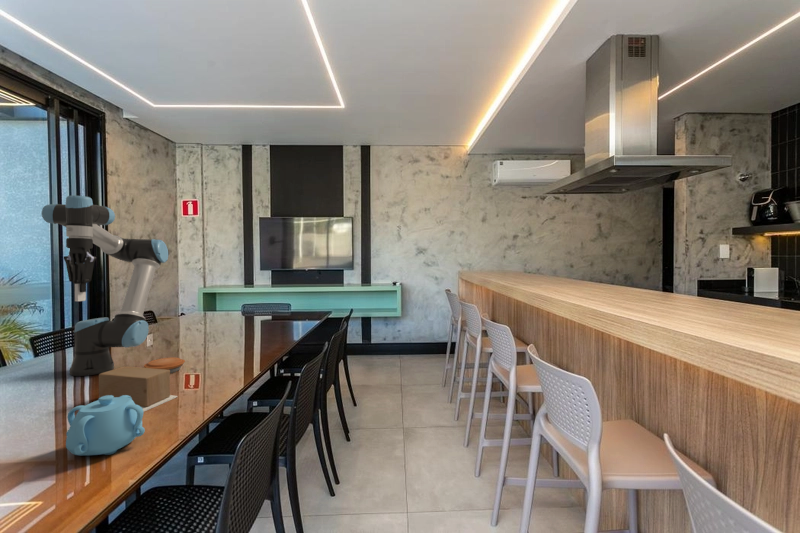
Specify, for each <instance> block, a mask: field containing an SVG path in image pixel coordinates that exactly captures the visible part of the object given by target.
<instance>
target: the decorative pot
mask: <svg viewBox="0 0 800 533" xmlns="http://www.w3.org/2000/svg"><path fill="white" fill-rule="evenodd" d="M76 411H77V413H75V412H76ZM143 417H144V412H143V409H142V407H140V406H139V405H136V404H135V403H134V401H133V400H132V398H131V397H130V396H128V395H123V396H120V397H114V396H112V395H107V396H103V397H100V398H99V397H98V399H97V400H94V401H93V402H92V401H91V402H90V403H88V404H86V405H82V404H81V405H77V406H75V407H73V408H71V409H70V410H68V413H67V421H68V424H69V428H68V430H67V431H66V432H65V433H66V440H65V447H66V449H67V451H68V452H70V453H71V454H72V455H74V456H98V455H99V456H100V455H105V456H108V455H113V454H115V453H117V452H118V450H120V449H121V448H124V447H126V446H127V445H128V444H130V443H131V442H133V441H134V440H135V438H138V437H141V436H143V435H144V433H145V431H146V430H145V427H144V426H143Z"/></svg>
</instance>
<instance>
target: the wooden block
mask: <svg viewBox="0 0 800 533" xmlns="http://www.w3.org/2000/svg"><path fill="white" fill-rule="evenodd" d="M107 395H112V396H114V397H120V396H123V395H128V396H130V397H131V398H132V400H133V401H134V403H135V404H136V405H139V406H142V407H148V406H150V405H152V404H155V403H157V402H159V401H161V400H163V399H166V398H168V397H170V395H171V373H170V370H165V369H153V368H144V367H137V366H127V365H124V366H121V367H117V368H114V369H112V370H110V371H107V372H104V373H100V374H98V399H99V398H100V397H103V396H107Z"/></svg>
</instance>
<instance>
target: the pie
mask: <svg viewBox="0 0 800 533" xmlns="http://www.w3.org/2000/svg"><path fill="white" fill-rule="evenodd" d="M185 362H186V360H185V359H183V358H180V357H176V356H175V357H164V358H163V357H162V358H156V359H152V360H151V361H149V362H148V363H145V364H144V365H143V368H153V369H165V370H170V374H173V372H174V373H176V371H177V372H178V371H180V370H181V368H182V367H183V365H184V363H185Z"/></svg>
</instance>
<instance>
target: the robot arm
mask: <svg viewBox="0 0 800 533" xmlns="http://www.w3.org/2000/svg"><path fill="white" fill-rule="evenodd" d="M41 217H42V219H43V220H44V222H46V223H48V224H53V225H56V224H57V225H58V224H59V225H61V226H63V227H65V230H66V231H65V233H66V234H65V235H66V237H67V238H65V244H66V245H65V247H66V248H67V249H69V252H68V254H67V255H65V256H63V260H64V262H65V266H66V271H67V276H68V281H69V282H72V283H73V289H74V290H73V292H74V302H85V301H87V300H86V299H87V298H86V297H87V296H86V292H87V284H88V283H90V282H92V277H93V272H94V267H95V266H94V265H95V262H96V260H97V257H96V256H93V255H92V254H91V250H90V249H93V247H94V245H95V246H97V247H99V248H100V250H101V251H102V252H103V253H104V254H106V255H108V256H111V257H112V258H115V259H117V260H120V261H123V262H126V263H132V265H133V266H134V267H133V269H132V274H131V276H130V280H129V283H128V286H127V290H126V293H125V296H124V300H123V303H122V305H121V309H120V312H118V313H116V314H115V315H114V317H113V320H110V318H109V317H104V316H103V317H98V318H97V317H96V318H91V319H86V320H81V321H78V322H76V323H75V324H74V331H73V333H74V358H73V360H72V363H71V366H70V368H69V375H70V376H74V377H87V376H95V375H99V374H101V373H104V372H107V371H111V370H114V369H115V361H114V360H113V357H112V355H111V353H110V348H132V347H133V348H134V347H135V348H136V347H138V346H140V345H142V344H143V343H144V342H145V341H146V339H147V337H148V335H149V331H150V329H149V328H150V327H149V323H148V321H146V317H145V316H144V312H145V309H146V305H147V302H148V298H149V294H150V290H151V288H152V283H153V279H154V276H155V273H156V270H158V269H160V267H161V265H162V264H164V263H166V262H167V261H168V259H169V250H168V247H167V244H166V242H164V241H163V240H162V239H154V238H151V239H148V238H147V239H146V238H145V239H144V238H140V239H139V238H123V237H121V236H119V235H116V234H112V233H110V232H109V231H108V230H106V229H104V228H103V227H101V226H108V225H109V226H110V225H111V224H112V223H114V221H115V220H116V219H115V218H116V214H115V212H114V210H113V209H111V208H110V207H108V206H105V205H99V204H98V205H97V204H94V203H93V199H92V198H91V197H90V196H85V195H68V196H66V198H65V204H64V203H63V204H60V203H54V204H53V203H52V204H46V205H44V206H43V207H42V209H41Z"/></svg>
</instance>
